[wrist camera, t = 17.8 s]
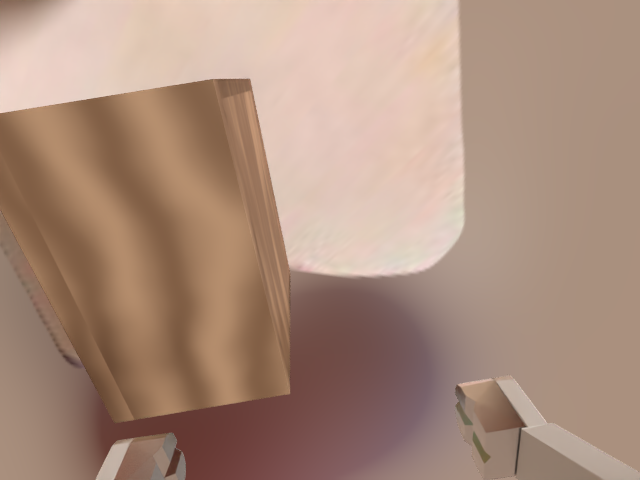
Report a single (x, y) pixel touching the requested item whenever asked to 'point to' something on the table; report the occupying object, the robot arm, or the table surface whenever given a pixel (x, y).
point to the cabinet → (155, 242)
